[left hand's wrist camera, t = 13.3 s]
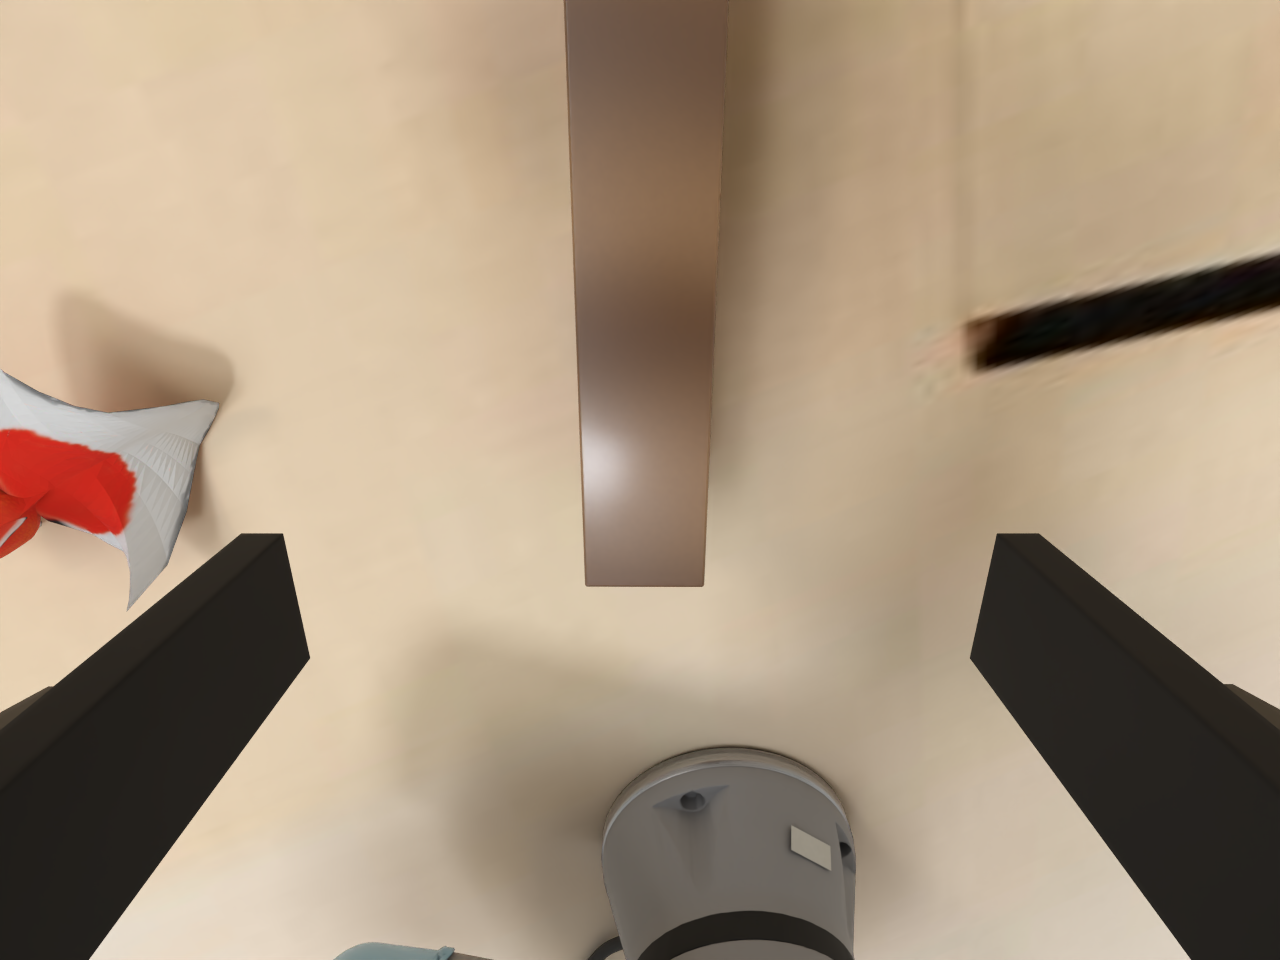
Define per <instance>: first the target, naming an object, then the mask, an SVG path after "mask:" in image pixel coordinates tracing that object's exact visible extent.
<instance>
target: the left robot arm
mask: <svg viewBox="0 0 1280 960" xmlns="http://www.w3.org/2000/svg"><path fill="white" fill-rule="evenodd" d="M309 659H310V655H309V651H308V646H307V642H306V637H305V632H304V628H303V623H302V619H301V614H300V609H299V605H298V600H297V596H296V591H295V587H294V582H293V577H292V573H291V568H290V564H289V559H288V554H287V550H286V545H285V541H284V536H283V534H240V535H239V536H238V537H236V538H235V539H234V540H233V541H232V542H230V543H229V544H228V545H227V546H225V547H224V548H223V549H222V550H220V551H219V552H218V553H217V554H216V555H214V556H213V557H212V558H211V559H209V560H208V561H207V562H206V563H205V564H203V565H202V566H201V567H200V568H198V569H197V570H196V571H195V572H193V573H192V574H191V575H190V576H189V577H187V578H186V579H185V580H184V581H182V582H181V583H180V584H179V585H178V586H176V587H175V588H174V589H173V590H171V591H170V592H169V593H168V594H167V595H165V596H164V597H163V598H162V599H160V600H159V601H158V602H157V603H155V604H154V605H153V606H152V607H151V608H149V609H148V610H147V611H146V612H144V613H143V614H142V615H141V616H140V617H138V618H137V619H136V620H135V621H133V622H132V623H131V624H130V625H128V626H127V627H126V628H125V629H124V630H122V631H121V632H120V633H119V634H117V635H116V636H115V637H114V638H113V639H111V640H110V641H109V642H108V643H106V644H105V645H104V646H103V647H101V648H100V649H99V650H98V651H97V652H95V653H94V654H93V655H92V656H90V657H89V658H88V659H87V660H86V661H84V662H83V663H82V664H81V665H79V666H78V667H77V668H76V669H74V670H73V671H72V672H71V673H70V674H68V675H67V676H66V677H65V678H63V679H62V680H61V681H60V682H59V683H57V684H56V685H55V686H54V687H47V688H45V689H43V690H41V691H39V692H37V693H36V694H34V695H32V696H30V697H28V698H26V699H24V700H23V701H21V702H19V703H17V704H15V705H13V706H12V707H10V708H8V709H6V710H4V711H2V712H1V713H0V960H89V959H90V957H91V956H92V955H93V953H94V952H95V951H96V949H97V948H98V946H99V945H100V944H101V942H102V941H103V940H104V938H105V937H106V936H107V934H108V933H109V931H110V930H111V929H112V927H113V926H114V925H115V923H116V922H117V921H118V919H119V918H120V917H121V915H122V914H123V912H124V911H125V910H126V908H127V907H128V906H129V904H130V903H131V902H132V900H133V899H134V897H135V896H136V895H137V893H138V892H139V891H140V889H141V888H142V887H143V885H144V884H145V882H146V881H147V880H148V878H149V877H150V876H151V874H152V873H153V872H154V870H155V869H156V867H157V866H158V865H159V863H160V862H161V861H162V859H163V858H164V857H165V855H166V854H167V852H168V851H169V850H170V848H171V847H172V846H173V844H174V843H175V842H176V840H177V839H178V837H179V836H180V835H181V833H182V832H183V831H184V829H185V828H186V827H187V825H188V824H189V822H190V821H191V820H192V818H193V817H194V816H195V814H196V813H197V812H198V810H199V809H200V807H201V806H202V805H203V803H204V802H205V801H206V799H207V798H208V797H209V795H210V794H211V793H212V791H213V790H214V788H215V787H216V786H217V784H218V783H219V782H220V780H221V779H222V778H223V776H224V775H225V773H226V772H227V771H228V769H229V768H230V767H231V765H232V764H233V763H234V761H235V760H236V758H237V757H238V756H239V754H240V753H241V752H242V750H243V749H244V748H245V746H246V745H247V743H248V742H249V741H250V739H251V738H252V737H253V735H254V734H255V733H256V731H257V730H258V728H259V727H260V726H261V724H262V723H263V722H264V720H265V719H266V718H267V716H268V715H269V713H270V712H271V711H272V709H273V708H274V707H275V705H276V704H277V703H278V701H279V700H280V698H281V697H282V696H283V694H284V693H285V692H286V690H287V689H288V688H289V686H290V685H291V683H292V682H293V681H294V679H295V678H296V677H297V675H298V674H299V673H300V671H301V670H302V668H303V667H304V666H305V664H306V663H307V662H308V660H309ZM970 659H971V660H972V662H973V663H974V664H975V666H976V667H977V668H978V670H979V671H980V673H981V674H982V675H983V677H984V678H985V679H986V681H987V682H988V683H989V685H990V686H991V688H992V689H993V690H994V692H995V693H996V694H997V696H998V697H999V698H1000V700H1001V701H1002V703H1003V704H1004V705H1005V707H1006V708H1007V709H1008V711H1009V712H1010V713H1011V715H1012V716H1013V718H1014V719H1015V720H1016V722H1017V723H1018V724H1019V726H1020V727H1021V728H1022V730H1023V731H1024V733H1025V734H1026V735H1027V737H1028V738H1029V739H1030V741H1031V742H1032V743H1033V745H1034V746H1035V748H1036V749H1037V750H1038V752H1039V753H1040V754H1041V756H1042V757H1043V758H1044V760H1045V761H1046V763H1047V764H1048V765H1049V767H1050V768H1051V769H1052V771H1053V772H1054V773H1055V775H1056V776H1057V778H1058V779H1059V780H1060V782H1061V783H1062V784H1063V786H1064V787H1065V788H1066V790H1067V791H1068V793H1069V794H1070V795H1071V797H1072V798H1073V799H1074V801H1075V802H1076V803H1077V805H1078V806H1079V807H1080V809H1081V810H1082V812H1083V813H1084V814H1085V816H1086V817H1087V818H1088V820H1089V821H1090V822H1091V824H1092V825H1093V827H1094V828H1095V829H1096V831H1097V832H1098V833H1099V835H1100V836H1101V837H1102V839H1103V840H1104V842H1105V843H1106V844H1107V846H1108V847H1109V848H1110V850H1111V851H1112V852H1113V854H1114V855H1115V857H1116V858H1117V859H1118V861H1119V862H1120V863H1121V865H1122V866H1123V867H1124V869H1125V870H1126V872H1127V873H1128V874H1129V876H1130V877H1131V878H1132V880H1133V881H1134V882H1135V884H1136V885H1137V887H1138V888H1139V889H1140V891H1141V892H1142V893H1143V895H1144V896H1145V897H1146V899H1147V900H1148V902H1149V903H1150V904H1151V906H1152V907H1153V908H1154V910H1155V911H1156V912H1157V914H1158V915H1159V917H1160V918H1161V919H1162V921H1163V922H1164V923H1165V925H1166V926H1167V927H1168V929H1169V930H1170V932H1171V933H1172V934H1173V936H1174V937H1175V938H1176V940H1177V941H1178V942H1179V944H1180V945H1181V946H1182V948H1183V949H1184V951H1185V952H1186V953H1187V955H1188V956H1189V957H1190V959H1191V960H1280V710H1279V709H1278V708H1276V707H1274V706H1272V705H1270V704H1268V703H1267V702H1265V701H1263V700H1261V699H1259V698H1257V697H1255V696H1254V695H1252V694H1250V693H1248V692H1246V691H1244V690H1242V689H1241V688H1239V687H1237V686H1235V685H1233V684H1223V683H1221V682H1220V681H1219V680H1218V679H1217V678H1215V677H1214V676H1213V675H1212V674H1210V673H1209V672H1208V671H1207V670H1206V669H1204V668H1203V667H1202V666H1201V665H1199V664H1198V663H1197V662H1196V661H1194V660H1193V659H1192V658H1191V657H1190V656H1188V655H1187V654H1186V653H1185V652H1183V651H1182V650H1181V649H1180V648H1179V647H1177V646H1176V645H1175V644H1174V643H1172V642H1171V641H1170V640H1169V639H1167V638H1166V637H1165V636H1164V635H1163V634H1161V633H1160V632H1159V631H1158V630H1156V629H1155V628H1154V627H1153V626H1152V625H1150V624H1149V623H1148V622H1147V621H1145V620H1144V619H1143V618H1142V617H1140V616H1139V615H1138V614H1137V613H1136V612H1134V611H1133V610H1132V609H1131V608H1129V607H1128V606H1127V605H1126V604H1125V603H1123V602H1122V601H1121V600H1120V599H1118V598H1117V597H1116V596H1115V595H1113V594H1112V593H1111V592H1110V591H1109V590H1107V589H1106V588H1105V587H1104V586H1102V585H1101V584H1100V583H1099V582H1098V581H1096V580H1095V579H1094V578H1093V577H1091V576H1090V575H1089V574H1088V573H1087V572H1085V571H1084V570H1083V569H1082V568H1080V567H1079V566H1078V565H1077V564H1075V563H1074V562H1073V561H1072V560H1071V559H1069V558H1068V557H1067V556H1066V555H1064V554H1063V553H1062V552H1061V551H1060V550H1058V549H1057V548H1056V547H1055V546H1053V545H1052V544H1051V543H1050V542H1048V541H1047V540H1046V539H1045V538H1044V537H1042V536H1041V535H1040V534H997V536H996V541H995V545H994V550H993V554H992V559H991V564H990V568H989V573H988V577H987V582H986V587H985V591H984V596H983V600H982V605H981V609H980V614H979V619H978V623H977V628H976V632H975V637H974V642H973V646H972V651H971V655H970ZM602 868H603V877H604V884H605V887H606V891H607V894H608V897H609V901H610V905H611V908H612V912H613V916H614V919H615V923H616V926H617V930H618V933H619V936H618V937H615V938H613V939H611V940H609V941H607V942H605V943H604V944H603V945H601V946H600V947H599V948H598V949H597V950H596V951H595V952H594V953H593V954H592V955H591V957H590V958H589V959H588V960H604V959H605V958H606V957H608V956H609V955H611V954H612V953H614V952H617V951H619V950H622V949H623V951H624V954H625V958H626V960H854V955H853V938H854V904H855V873H856V856H855V849H854V842H853V836H852V833H851V829H850V826H849V823H848V820H847V817H846V814H845V811H844V808H843V806H842V804H841V802H840V800H839V798H838V797H837V795H836V793H835V792H834V791H833V790H832V788H831V787H830V786H829V785H828V784H827V783H826V782H825V781H824V780H823V779H822V778H821V777H820V776H818V775H817V774H816V773H815V772H813V771H812V770H810V769H808V768H807V767H805V766H803V765H802V764H800V763H798V762H796V761H793V760H791V759H789V758H786V757H784V756H780V755H777V754H774V753H770V752H765V751H761V750H754V749H747V748H716V749H707V750H701V751H695V752H691V753H687V754H683V755H680V756H677V757H674V758H671V759H669V760H667V761H664V762H662V763H660V764H658V765H656V766H654V767H652V768H650V769H649V770H647V771H646V772H644V773H642V774H641V775H640V776H638V777H637V778H636V779H635V780H633V781H632V782H631V783H630V784H629V785H628V786H627V787H626V788H625V789H624V790H623V791H622V792H621V793H620V795H619V796H618V797H617V799H616V800H615V802H614V803H613V805H612V807H611V809H610V811H609V813H608V815H607V818H606V821H605V825H604V830H603V843H602ZM454 950H455V949H454V948H450V947H446V946H444V947H442V948H441V949H439V950H432V949H424V948H416V947H408V946H400V945H393V944H385V943H364V944H360V945H357V946H354V947H352V948H350V949H348V950H346V951H345V952H343V953H342V954H340V955H339V956H338V957H336V958H335V959H334V960H492V959H486V958H481V957H476V956H471V955H465V954H460V953H455V952H454Z"/></svg>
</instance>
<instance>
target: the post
mask: <svg viewBox="0 0 1280 960" xmlns="http://www.w3.org/2000/svg"><path fill="white" fill-rule="evenodd" d="M728 7H729V0H564V18H565V45H566V73H567V100H568V127H569V155H570V182H571V210H572V237H573V265H574V292H575V319H576V347H577V374H578V402H579V429H580V457H581V484H582V511H583V539H584V566H585V585H586V586H610V587H702V586H703V585H704V574H705V550H706V527H707V503H708V479H709V456H710V432H711V409H712V385H713V361H714V338H715V314H716V290H717V267H718V243H719V220H720V196H721V172H722V149H723V125H724V102H725V78H726V54H727V31H728Z"/></svg>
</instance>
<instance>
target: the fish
mask: <svg viewBox="0 0 1280 960" xmlns="http://www.w3.org/2000/svg"><path fill="white" fill-rule="evenodd" d="M218 409H219V403H217V402H212V401H208V400H196V401H189V402H184V403H179V404H173V405H168V406H162V407H154V408H146V409H137V410H129V411H120V412H111V413H107V412H102V411H97V410H92V409H87V408H82V407H76V406H73V405H71V404H68V403H66V402H63V401H61V400H58V399H56V398H53V397H51V396H48V395H46V394H43V393H41V392H38V391H37V390H35V389H33V388H31V387H30V386H28V385H26V384H24V383H22V382H21V381H19V380H17V379H15V378H14V377H12V376H10V375H8V374H7V373H5V372H4V371H2V370H1V369H0V558H2V557H4V556H6V555H8V554H9V553H11V552H12V551H14V550H15V549H17V548H18V547H20V546H21V545H23V544H24V543H26V542H27V541H29V540H30V539H31V538H32V537H33V536H34V535H35V533H36V532H37V530H38V528H39V527H41V526H42V522H41V521H40V517H41V516H42V517H43V518H45V519H46V520H48V521H50V522H54V523H57V524H60V525H64V526H67V527H70V528H74V529H77V530H80V531H84V532H87V533H91V534H93V535H95V536H96V537H98V538H100V539H101V540H103V541H105V542H106V543H108V544H110V545H112V546H114V547H116V548H118V549H120V550H122V551H124V553H125V555H126V557H127V561H128V565H129V569H130V595H129V602H128V607H127V611H128V610H129V608H130V607H131V606H132V605H133V604H134V603H135V602H136V600H137V599H138V598H139V597H140V596H141V595H142V593H143V592H144V591H145V590H146V589H147V588H148V587H149V585H150V584H151V583H152V582H153V581H154V580H155V579H156V577H157V576H158V575H159V574H160V573H161V572H162V571H163V569H164V568H165V567H166V566H167V565H168V562H169V559H170V556H171V553H172V551H173V548H174V545H175V542H176V540H177V537H178V534H179V531H180V528H181V526H182V523H183V520H184V517H185V514H186V512H187V506H188V501H189V496H190V491H191V485H192V480H193V475H194V470H195V465H196V460H197V456H198V451H199V446H200V444H201V442H202V440H203V439H204V437H205V435H206V434H207V432H208V430H209V428H210V426H211V424H212V422H213V420H214V418H215V416H216V413H217V411H218Z"/></svg>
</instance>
